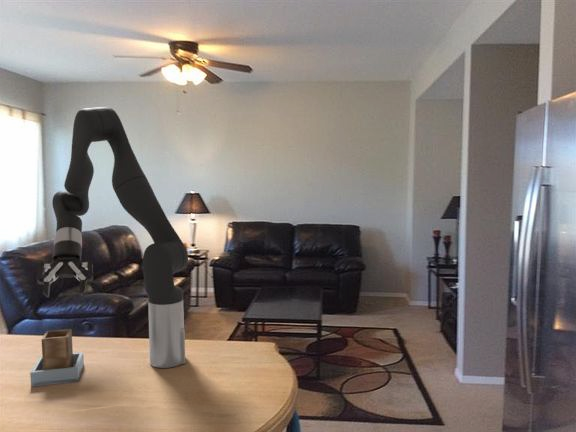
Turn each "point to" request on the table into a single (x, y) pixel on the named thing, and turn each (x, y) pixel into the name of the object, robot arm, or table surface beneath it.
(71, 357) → the walnut crate
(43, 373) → the blue crate
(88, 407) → the table surface
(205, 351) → the table surface
